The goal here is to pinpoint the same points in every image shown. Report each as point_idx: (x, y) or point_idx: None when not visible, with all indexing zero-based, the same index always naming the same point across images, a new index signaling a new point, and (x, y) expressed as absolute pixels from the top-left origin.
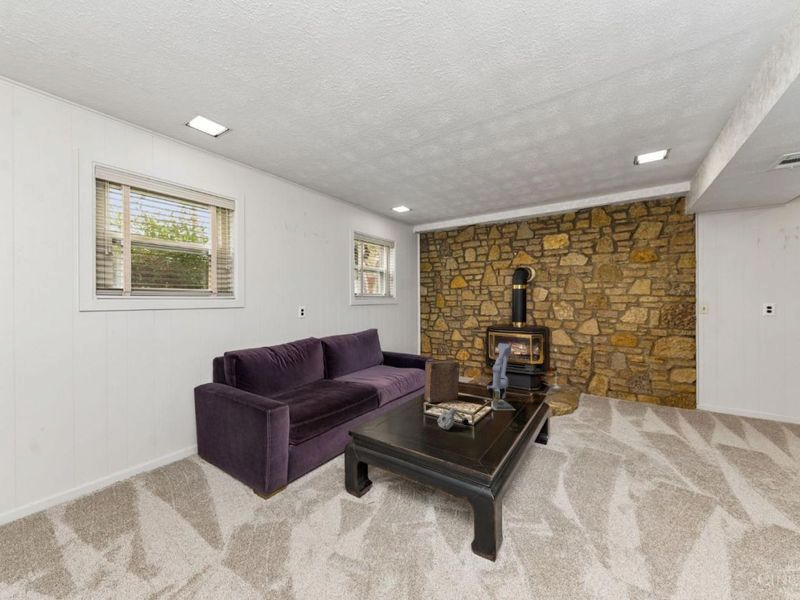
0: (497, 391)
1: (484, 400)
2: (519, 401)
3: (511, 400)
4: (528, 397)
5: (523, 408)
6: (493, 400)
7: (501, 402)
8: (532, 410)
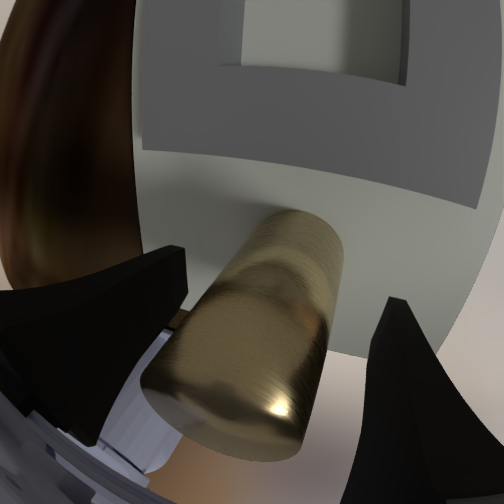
0: (174, 415)
1: (436, 347)
2: (37, 231)
3: (82, 272)
4: (11, 283)
5: (48, 31)
6: (340, 279)
7: (258, 73)
8: (21, 4)
